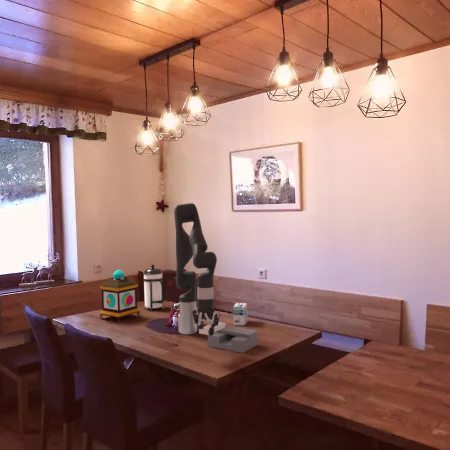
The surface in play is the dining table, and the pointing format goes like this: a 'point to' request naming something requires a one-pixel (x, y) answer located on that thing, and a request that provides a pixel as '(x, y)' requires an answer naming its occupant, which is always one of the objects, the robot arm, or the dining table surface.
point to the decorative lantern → (119, 296)
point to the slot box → (234, 339)
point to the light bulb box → (240, 313)
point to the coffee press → (153, 288)
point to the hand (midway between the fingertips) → (206, 334)
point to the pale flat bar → (220, 325)
